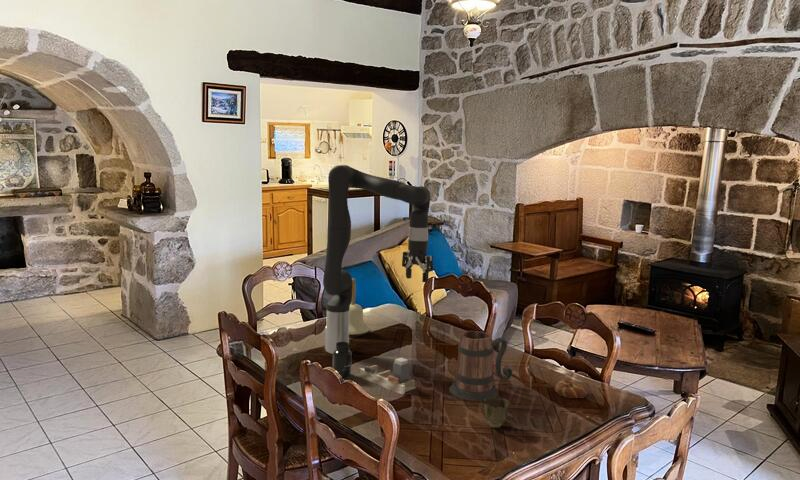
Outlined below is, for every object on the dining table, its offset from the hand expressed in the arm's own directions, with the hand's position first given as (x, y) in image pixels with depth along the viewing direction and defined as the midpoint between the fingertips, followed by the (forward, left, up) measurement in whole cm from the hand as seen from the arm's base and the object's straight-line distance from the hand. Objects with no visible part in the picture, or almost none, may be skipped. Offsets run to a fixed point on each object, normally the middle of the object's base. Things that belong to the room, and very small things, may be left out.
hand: (416, 280), depth 228 cm
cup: (+56, -24, -32) cm, 69 cm away
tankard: (+36, -4, -32) cm, 49 cm away
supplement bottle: (-6, -32, -32) cm, 46 cm away
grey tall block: (+16, -24, -32) cm, 43 cm away
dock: (+10, -24, -32) cm, 41 cm away
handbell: (-43, +5, -32) cm, 54 cm away
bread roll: (+58, +17, -33) cm, 69 cm away
